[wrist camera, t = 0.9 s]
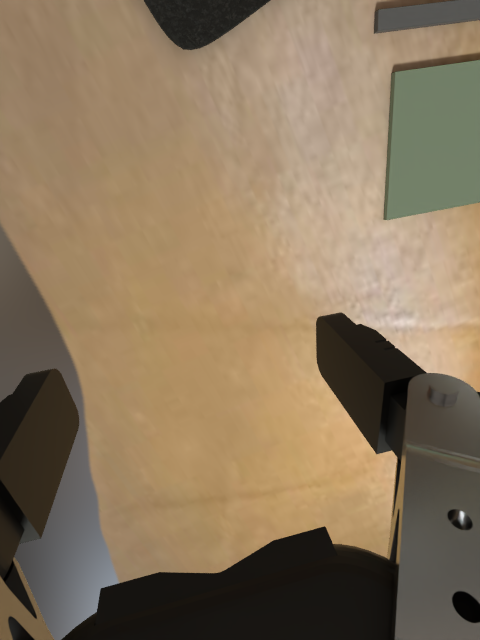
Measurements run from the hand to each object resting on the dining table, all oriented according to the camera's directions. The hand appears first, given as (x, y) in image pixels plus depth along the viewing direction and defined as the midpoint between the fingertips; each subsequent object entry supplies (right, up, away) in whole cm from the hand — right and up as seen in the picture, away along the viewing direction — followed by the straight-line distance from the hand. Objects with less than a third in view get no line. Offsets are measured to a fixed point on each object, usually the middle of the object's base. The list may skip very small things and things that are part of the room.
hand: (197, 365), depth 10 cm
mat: (+26, +21, +26) cm, 42 cm away
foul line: (+24, +31, +21) cm, 45 cm away
